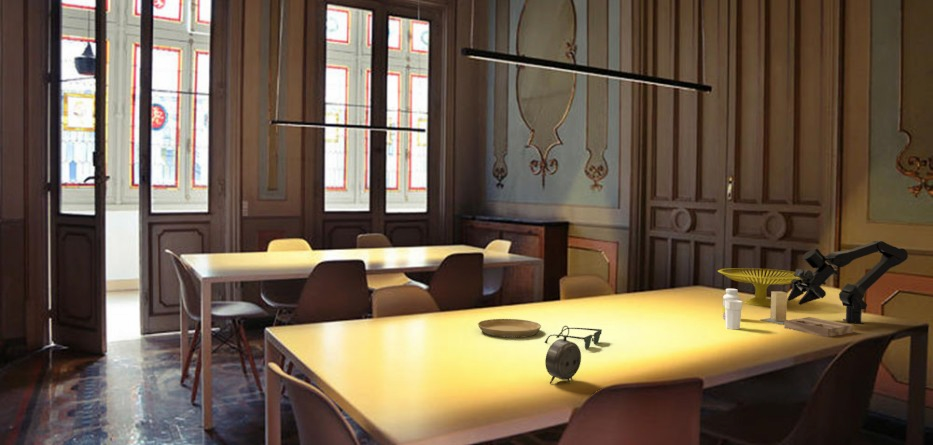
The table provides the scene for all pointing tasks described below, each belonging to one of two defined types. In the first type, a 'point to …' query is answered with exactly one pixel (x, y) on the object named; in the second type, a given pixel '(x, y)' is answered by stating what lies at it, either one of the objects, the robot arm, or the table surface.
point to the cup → (733, 313)
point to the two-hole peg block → (819, 326)
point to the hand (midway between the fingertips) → (793, 302)
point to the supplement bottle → (729, 297)
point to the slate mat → (772, 321)
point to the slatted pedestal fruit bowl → (759, 282)
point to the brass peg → (778, 306)
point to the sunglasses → (586, 339)
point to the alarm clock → (563, 359)
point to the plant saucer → (509, 327)
